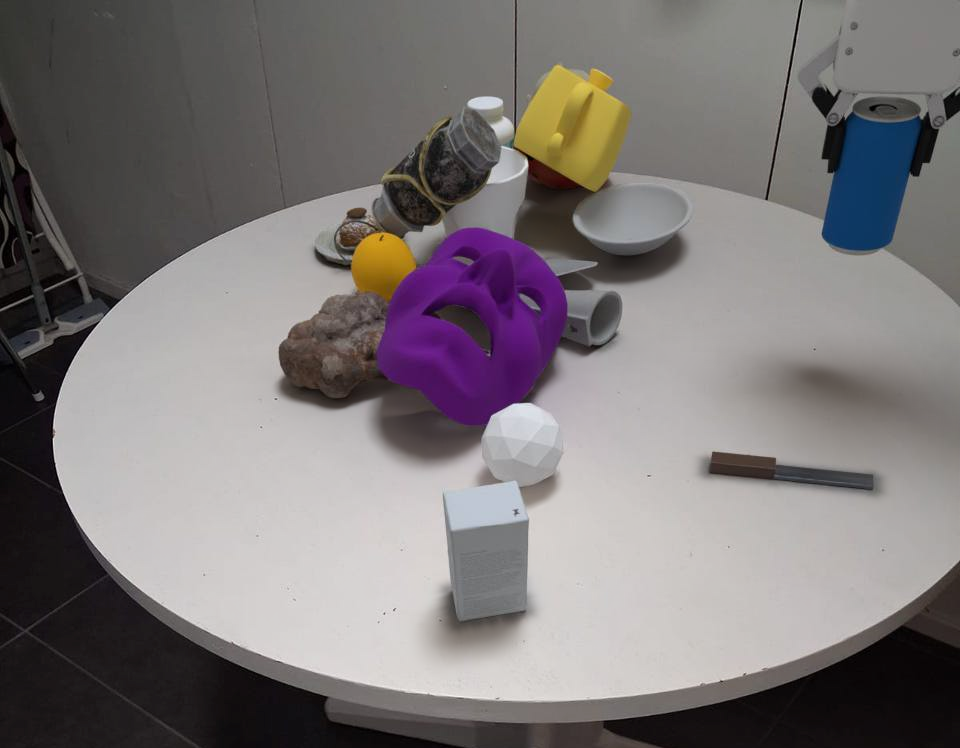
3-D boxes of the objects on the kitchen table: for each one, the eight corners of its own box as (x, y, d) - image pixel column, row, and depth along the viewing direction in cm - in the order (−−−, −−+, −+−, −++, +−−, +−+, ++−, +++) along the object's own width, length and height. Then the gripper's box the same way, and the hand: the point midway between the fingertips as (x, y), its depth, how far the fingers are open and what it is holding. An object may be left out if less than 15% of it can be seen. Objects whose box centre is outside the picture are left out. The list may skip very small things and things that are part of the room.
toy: (521, 85, 138) (518, 197, 142) (502, 52, 124) (499, 177, 128) (625, 81, 135) (618, 196, 139) (617, 47, 121) (610, 175, 125)
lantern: (458, 85, 105) (323, 217, 121) (449, 126, 101) (310, 257, 117) (511, 143, 110) (374, 263, 126) (504, 184, 106) (364, 302, 122)
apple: (355, 282, 120) (345, 223, 114) (417, 276, 120) (410, 217, 115) (356, 314, 115) (346, 254, 109) (420, 308, 115) (414, 247, 109)
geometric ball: (578, 405, 85) (562, 492, 86) (560, 416, 93) (545, 497, 94) (497, 387, 84) (480, 476, 85) (485, 400, 92) (470, 482, 93)
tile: (603, 261, 114) (603, 265, 114) (550, 257, 122) (550, 261, 122) (464, 297, 105) (465, 301, 106) (417, 290, 114) (418, 294, 114)
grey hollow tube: (503, 292, 119) (625, 326, 109) (469, 318, 117) (590, 356, 106) (494, 249, 115) (620, 280, 104) (458, 275, 113) (583, 310, 102)
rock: (429, 363, 113) (422, 275, 108) (458, 388, 104) (453, 293, 98) (277, 383, 109) (263, 292, 104) (293, 411, 99) (278, 313, 94)
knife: (872, 477, 89) (875, 467, 88) (872, 489, 88) (876, 479, 87) (710, 461, 92) (712, 451, 91) (709, 472, 91) (710, 462, 90)
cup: (444, 229, 129) (437, 143, 120) (535, 231, 127) (534, 144, 119) (426, 274, 120) (417, 185, 112) (523, 276, 119) (521, 186, 110)
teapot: (529, 151, 130) (571, 62, 125) (607, 196, 130) (652, 109, 125) (499, 138, 113) (547, 33, 107) (589, 191, 113) (641, 88, 107)
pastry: (401, 266, 122) (397, 230, 119) (309, 269, 123) (303, 234, 119) (408, 224, 130) (404, 190, 127) (322, 228, 131) (316, 194, 127)
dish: (656, 292, 114) (659, 252, 111) (549, 269, 120) (549, 230, 116) (708, 231, 124) (713, 192, 121) (608, 212, 129) (609, 174, 126)
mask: (476, 473, 96) (576, 324, 107) (525, 383, 82) (633, 224, 94) (335, 382, 95) (451, 242, 106) (361, 276, 82) (490, 129, 93)
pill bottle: (498, 223, 129) (494, 116, 119) (452, 213, 132) (445, 108, 122) (525, 201, 133) (523, 96, 123) (480, 192, 136) (475, 89, 126)
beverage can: (878, 226, 93) (911, 92, 84) (900, 256, 89) (937, 118, 80) (812, 231, 93) (838, 97, 84) (830, 261, 89) (860, 124, 80)
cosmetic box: (516, 572, 82) (519, 478, 72) (527, 612, 80) (531, 520, 70) (448, 583, 82) (441, 489, 72) (456, 623, 80) (450, 532, 70)
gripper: (1046, -87, 73) (972, 156, 86) (813, -83, 77) (776, 149, 90) (1059, -64, 68) (978, 190, 81) (809, -60, 72) (771, 182, 85)
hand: (872, 167), depth 86 cm, fingers closed on beverage can, 6 cm apart
